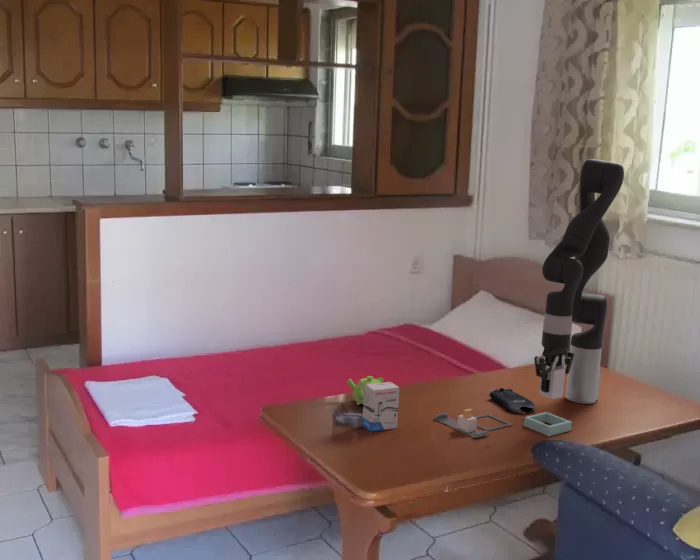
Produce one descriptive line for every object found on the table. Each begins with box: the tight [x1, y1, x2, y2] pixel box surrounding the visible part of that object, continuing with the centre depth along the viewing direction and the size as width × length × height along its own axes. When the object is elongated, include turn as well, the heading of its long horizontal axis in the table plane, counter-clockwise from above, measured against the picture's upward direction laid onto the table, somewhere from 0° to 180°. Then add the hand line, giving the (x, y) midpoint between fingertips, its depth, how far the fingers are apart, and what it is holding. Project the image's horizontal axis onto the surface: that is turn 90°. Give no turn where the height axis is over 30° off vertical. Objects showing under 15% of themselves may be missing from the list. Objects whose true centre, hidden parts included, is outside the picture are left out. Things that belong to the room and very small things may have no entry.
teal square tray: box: [523, 411, 573, 437], centre depth 224 cm, size 9×9×2 cm
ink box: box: [361, 381, 400, 433], centre depth 218 cm, size 9×5×12 cm, turn 117°
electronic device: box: [488, 387, 536, 415], centre depth 242 cm, size 9×6×15 cm
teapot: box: [346, 375, 384, 404], centre depth 236 cm, size 11×12×8 cm
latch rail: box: [434, 411, 489, 439], centre depth 222 cm, size 4×17×1 cm, turn 35°
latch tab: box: [457, 408, 478, 432], centre depth 219 cm, size 3×4×6 cm
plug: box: [538, 365, 566, 400], centre depth 222 cm, size 4×4×9 cm
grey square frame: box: [474, 413, 513, 432], centre depth 227 cm, size 10×10×1 cm
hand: (551, 390), depth 223 cm, fingers closed on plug, 4 cm apart
